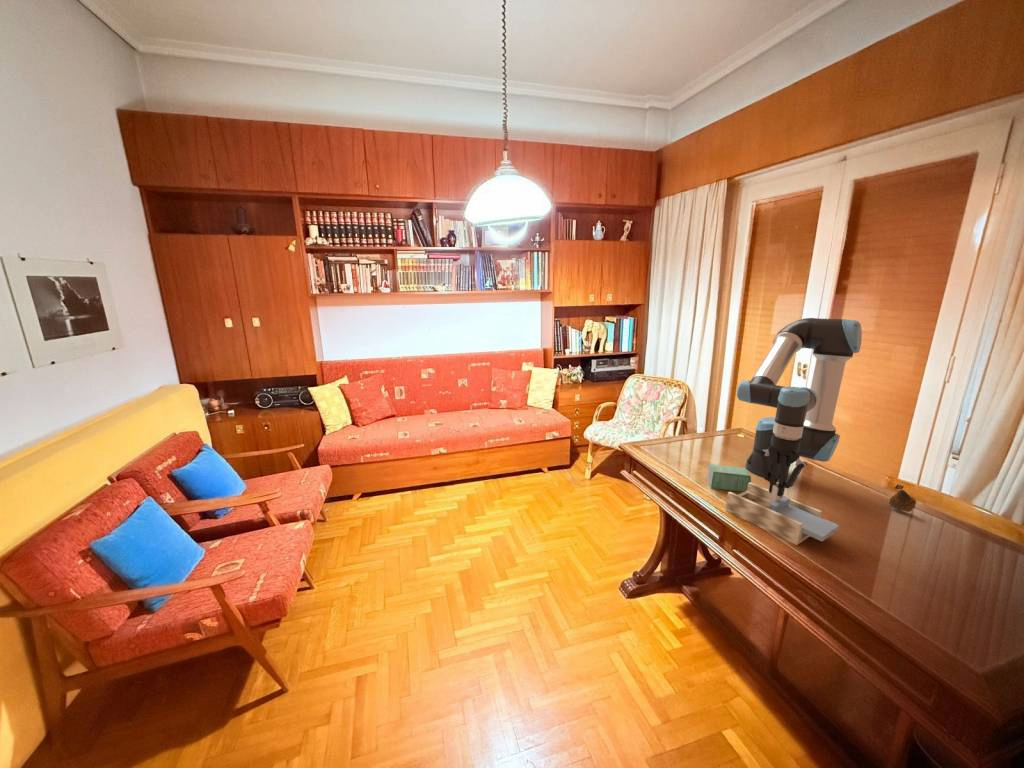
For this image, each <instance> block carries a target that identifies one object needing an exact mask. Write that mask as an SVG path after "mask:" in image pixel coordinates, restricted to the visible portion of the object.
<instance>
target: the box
mask: <svg viewBox="0 0 1024 768" xmlns="http://www.w3.org/2000/svg"><path fill="white" fill-rule="evenodd" d="M706 482H707V484H708V486H709V488H710V489H715V490H723V491H730V492H731V491H733V492H738V493H739V492H740V493H743V492H745V491H747V486H748V483H749V482H750V483H752V475H751V473H749V470H748V469H747V468H746V467H740V466H738V467H737V466H728V465H720V464H711V463H709V464H708V468H707V476H706Z"/></svg>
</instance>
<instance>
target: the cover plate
mask: <svg viewBox="0 0 1024 768" xmlns="http://www.w3.org/2000/svg"><path fill="white" fill-rule="evenodd" d="M786 497H787V496H785V497H783V498H781V499H779V500H777V501H775V502H773V503H772V504H770V509H771V510H773V511H775V512H778V513H780V514H782V515H784V516H787V517H789V518H791V519H794V520H796V521H798V522H800V523H803V525H802V530H801V532H802V533H805V534H807V535H809V537H811V538H814V539H815V540H818V541H820V542H824V541H825V540H826V539H828V538H830V536H832V535H833V534H835V532H837V531H839V529H840V525H839V524H838V523H834V522H832V521H830V520H827V519H825V518H822V517H818V516H816V515H813V514H811V513H809V512H806V511H804V510H801V509H799V508H797V507H794V506H792V505H789V500H790V499H791V498H790V497H788V498H786ZM789 498H790V499H789Z"/></svg>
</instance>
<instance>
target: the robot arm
mask: <svg viewBox="0 0 1024 768" xmlns="http://www.w3.org/2000/svg"><path fill="white" fill-rule="evenodd" d="M862 334H863V330H862V325H861V322H860V321H858V320H857V319H856V320H855V319H847V318H819V317H817V318H816V317H815V318H814V317H807V318H806V317H805V318H801V319H798V320H794V321H793V322H791V323H788V324H787V325H785V326H784V327H783V328H781V329H780V330H779V331H778V332H777V333H776V335H775V337H774V338H773V340H772V344H773V345H772V346H771V348H770V349H769V351H768V353H766V356H765V357H764V359H763V360H762V362H761V364H760V365H759V366H758V369H757V370H756V372H755V373H754V375H753V376H752V378H751V379H750V380H741V381H740V382H739V384H738V386H737V388H736V398H737V399H738V400H739V401H741V402H745V403H749V404H754V405H759V406H765V407H771V408H775V409H776V410H775V412H776V413H775V416H771V417H769V416H768V417H767V416H766V417H763V418H759V420H758V421H757V424H756V427H755V435H754V442H753V448H752V451H751V453H750V454H749V456H748V458H747V459H746V461H745V469H746V470H747V471H748V472H750V473H753V474H755V475H758V476H761V477H763V479H764V480H765V481H767V482H768V483H769V488H768V490H769V492H770V493H771V499H770V504H772V503H773V502H775V501H777V500H779V499H780V497H781V496H785V494H784V493H785V490H786V489H789V488H792V487H793V486H794V484H795V482H796V480H797V479H798V477H799V476H800V473H801V471H802V470H803V469H804V468H805V467H806V466H808V463H807V462H805V461H803V460H801V459H800V457H802V458H805V459H810V460H812V461H817V462H823V463H827V462H828V461H830V460H831V458H832V456H833V455H834V454H835V451H836V449H837V446H838V444H839V443H840V437H841V435H840V434H838V433H836V431H837V428H836V427H835V426H834V425H833V420H834V417H835V412H836V408H837V404H838V399H839V394H840V389H841V385H842V380H843V376H844V373H845V372H844V371H845V367H846V364H847V363H846V362H847V361H849V360H851V359H852V358H853V357H854V356H853V355H854V354H856V353H860V350H861V345H862ZM801 349H811V350H813V351H812V355H813V356H814V357H815V358H816V361H815V366H814V370H813V375H812V380H811V383H810V388H809V387H805V386H804V387H802V386H801V387H799V386H784V385H777V384H778V382H779V380H780V379H781V377H782V375H783V373H784V372H785V370H786V368H787V367H788V365H789V363H790V362H791V360H792V358H793V357H794V355H795V354H796V353H797V352H799V351H800V350H801ZM793 463H795V467H794V468H793V470H792V472H791V474H790V476H789V471H790V468H791V465H792V464H793ZM785 488H786V489H785Z"/></svg>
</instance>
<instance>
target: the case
mask: <svg viewBox="0 0 1024 768" xmlns="http://www.w3.org/2000/svg"><path fill="white" fill-rule="evenodd" d="M783 497H786V498H789V499H790V500H789V505H792V506H794V507H797V508H799V509H801V510H804V511H806V512H809V513H811V514H813V515H816V516H818V517H821V516H822V512H823V510H820V509H818V508H815V507H813V506H810V505H808V504H805V503H802V502H800V501H798V500H795V499H792V498H790V497H787V496H786V495H783V496H781V497H780V499H781V498H783ZM770 499H771V493H770V492H769V488H765V487H762V486H760V485H758V484H755V483H752V482H751V483H750V482H749V483H748V486H747V491H745V492H740V493H739V494H736V493H734V492H731V491H728V492H727V496H726V505H725V511H726V512H727V513H729V514H731V515H734V516H736V517H737V518H740V519H742V520H744V521H746V522H748V523H750V524H752V525H754V526H757V527H758V528H761V529H762V530H764V531H767V532H768V533H771V534H773V535H775V536H777V537H778V538H781V539H783V540H784V541H785V540H786V541H787V542H789V543H791V544H793V545H796V546H798V545H799V544H801V543H802V542H804V541H805V540H806V539H808V538H809V537H810V536H809V535H807V534H805V533H802V532H801V530H802V525H803V523H800V522H798V521H796V520H794V519H791V518H789V517H787V516H784V515H782V514H780V513H778V512H775V511H773V510H771V509H770ZM821 518H822V517H821Z"/></svg>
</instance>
